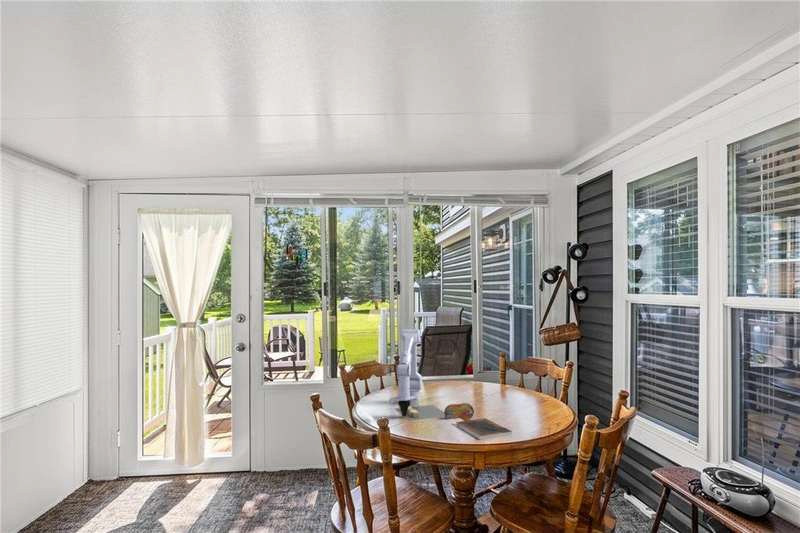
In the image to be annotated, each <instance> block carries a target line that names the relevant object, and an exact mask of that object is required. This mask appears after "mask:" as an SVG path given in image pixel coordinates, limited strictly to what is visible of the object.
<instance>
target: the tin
mask: <svg viewBox="0 0 800 533" xmlns="http://www.w3.org/2000/svg"><path fill="white" fill-rule="evenodd" d="M443 412H444V414H445V417H444V418H445V419H446V420H451V419H453V420H455V419H461V421H468V420H472V418H473V416H474V414H475V410H474V407H473V406H472V405H471V404H470V403H468V402H467V403H466V402H460V403H451V404H447V406H445V408H444V410H443Z"/></svg>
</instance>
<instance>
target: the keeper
mask: <svg viewBox="0 0 800 533" xmlns="http://www.w3.org/2000/svg"><path fill="white" fill-rule="evenodd" d="M419 406H420V404H419V400H414V405H413V407H414V409H419Z"/></svg>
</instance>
